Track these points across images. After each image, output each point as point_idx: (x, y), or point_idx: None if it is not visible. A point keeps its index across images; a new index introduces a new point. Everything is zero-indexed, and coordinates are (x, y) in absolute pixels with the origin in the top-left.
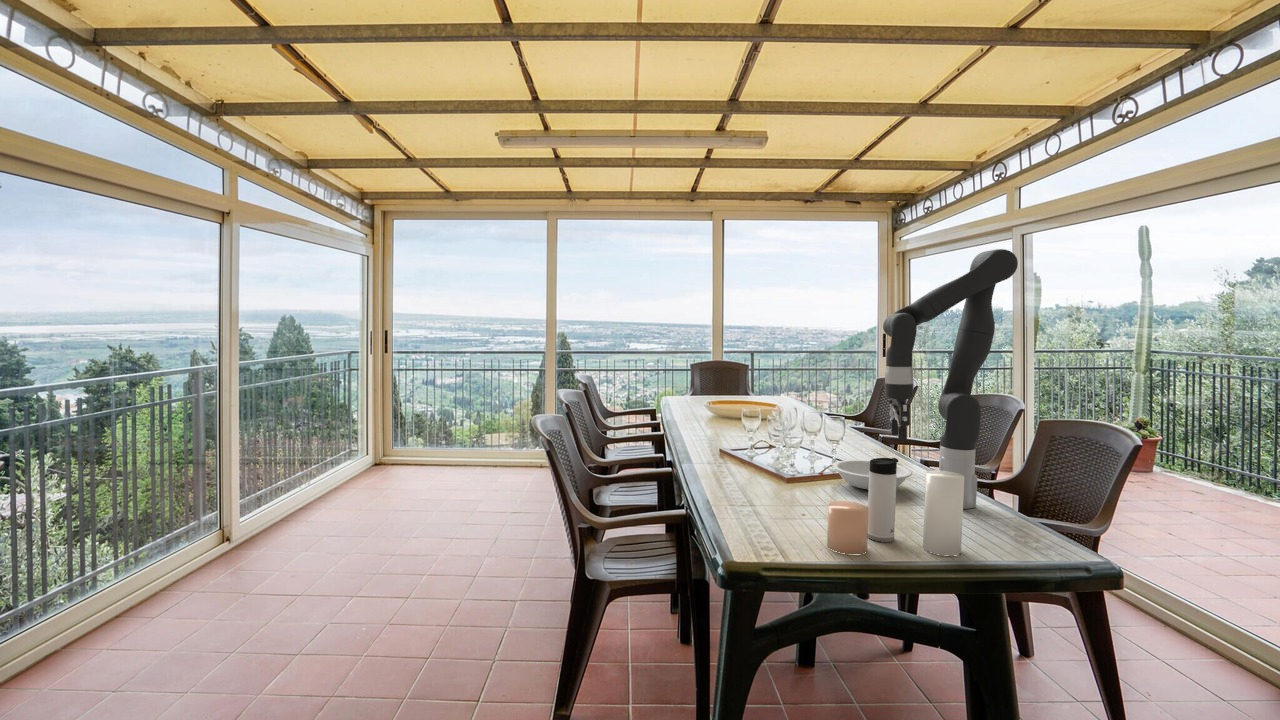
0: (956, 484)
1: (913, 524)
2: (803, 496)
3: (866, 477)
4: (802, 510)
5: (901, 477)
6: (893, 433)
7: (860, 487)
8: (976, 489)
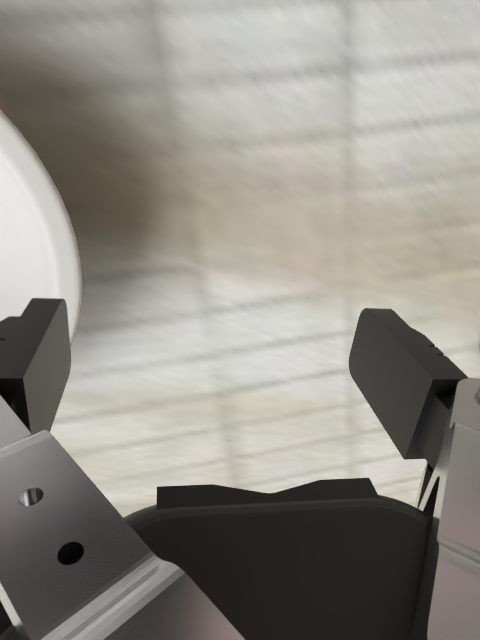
0: None
1: (413, 205)
2: (138, 483)
3: (74, 332)
4: (285, 486)
5: (27, 143)
6: (66, 360)
7: (3, 308)
8: None
